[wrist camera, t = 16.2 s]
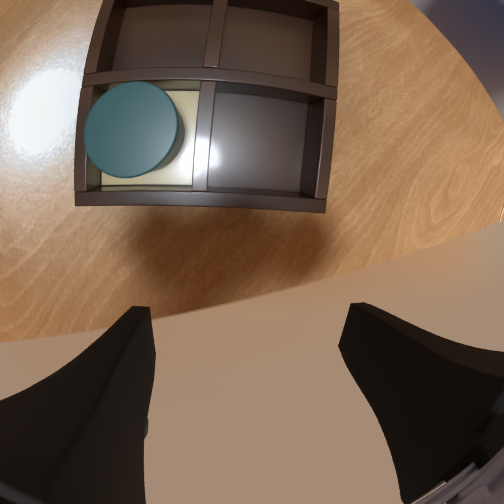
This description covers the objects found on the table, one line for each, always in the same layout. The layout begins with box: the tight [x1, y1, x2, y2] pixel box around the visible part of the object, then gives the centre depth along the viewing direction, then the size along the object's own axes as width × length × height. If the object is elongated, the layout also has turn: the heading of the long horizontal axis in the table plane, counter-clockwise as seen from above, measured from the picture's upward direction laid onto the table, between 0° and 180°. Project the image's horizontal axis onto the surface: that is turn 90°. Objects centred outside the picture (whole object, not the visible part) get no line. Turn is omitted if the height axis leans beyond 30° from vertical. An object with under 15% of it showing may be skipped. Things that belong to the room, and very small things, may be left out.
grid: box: [74, 0, 339, 214], centre depth 13 cm, size 14×14×3 cm
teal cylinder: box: [84, 81, 185, 178], centre depth 12 cm, size 4×4×4 cm
